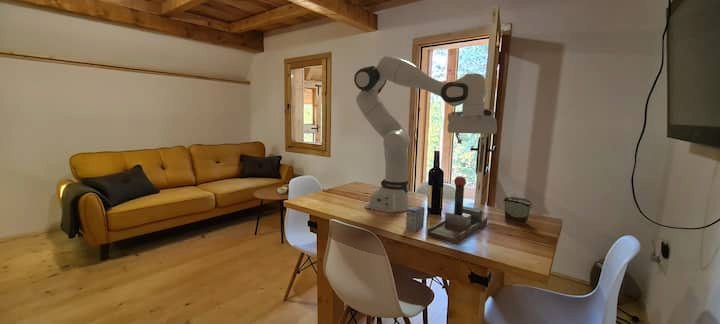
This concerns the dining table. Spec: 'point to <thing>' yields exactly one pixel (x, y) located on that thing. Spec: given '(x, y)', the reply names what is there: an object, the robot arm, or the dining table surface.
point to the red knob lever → (458, 207)
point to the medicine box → (415, 218)
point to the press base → (455, 233)
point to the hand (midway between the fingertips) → (470, 143)
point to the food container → (517, 209)
